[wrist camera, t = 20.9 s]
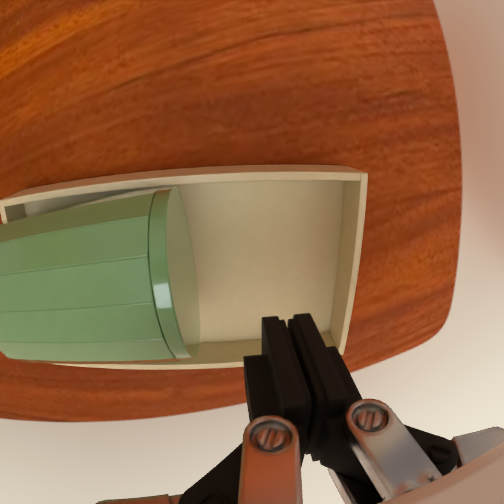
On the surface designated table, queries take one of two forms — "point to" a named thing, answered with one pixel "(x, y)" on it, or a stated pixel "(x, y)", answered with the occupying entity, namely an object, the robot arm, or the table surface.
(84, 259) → the green cup
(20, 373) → the table surface
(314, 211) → the tray
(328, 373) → the robot arm
